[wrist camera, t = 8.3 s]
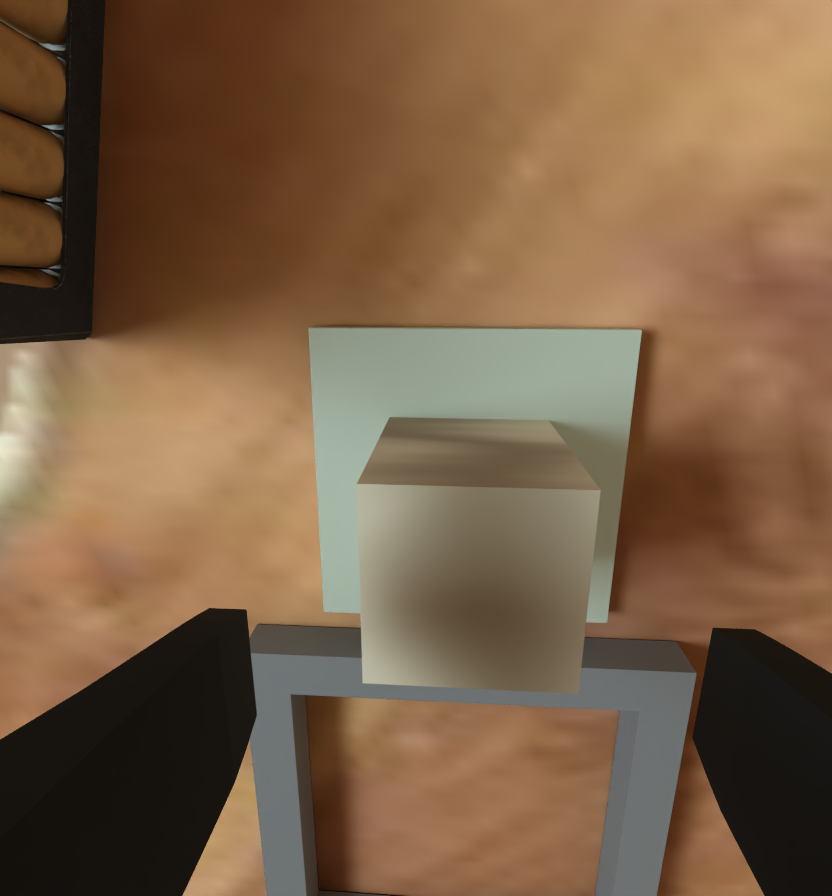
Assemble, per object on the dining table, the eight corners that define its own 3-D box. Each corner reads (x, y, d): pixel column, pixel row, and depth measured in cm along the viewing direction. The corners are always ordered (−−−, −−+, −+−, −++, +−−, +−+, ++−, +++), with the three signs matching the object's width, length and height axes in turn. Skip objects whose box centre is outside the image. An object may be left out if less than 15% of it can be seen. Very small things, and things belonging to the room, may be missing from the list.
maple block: (390, 558, 17) (362, 683, 11) (389, 416, 15) (356, 484, 10) (537, 563, 16) (578, 694, 11) (548, 419, 15) (600, 490, 10)
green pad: (327, 601, 18) (323, 611, 17) (313, 326, 15) (308, 327, 15) (602, 611, 17) (607, 622, 17) (634, 328, 15) (642, 329, 14)
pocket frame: (285, 913, 22) (273, 956, 21) (257, 624, 18) (240, 652, 17) (627, 939, 21) (640, 986, 20) (676, 641, 17) (696, 672, 16)
